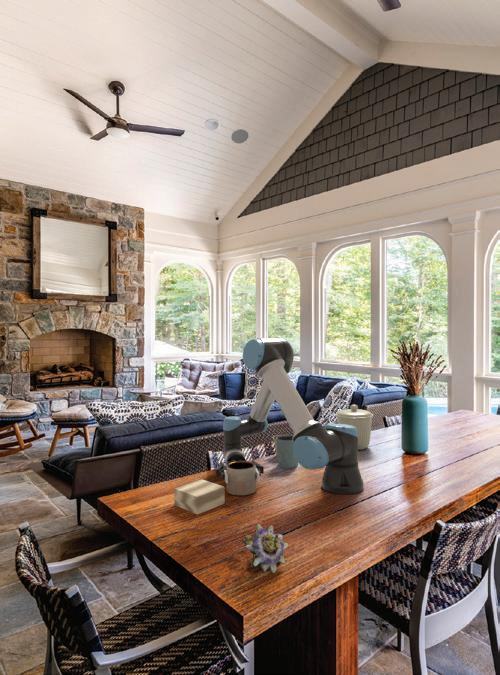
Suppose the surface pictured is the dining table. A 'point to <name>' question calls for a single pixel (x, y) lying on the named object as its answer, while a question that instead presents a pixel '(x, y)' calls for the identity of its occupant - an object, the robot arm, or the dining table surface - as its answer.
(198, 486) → the maple block
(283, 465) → the green cup
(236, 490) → the planter
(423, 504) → the dining table surface
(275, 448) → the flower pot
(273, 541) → the passion flower
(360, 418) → the canister
